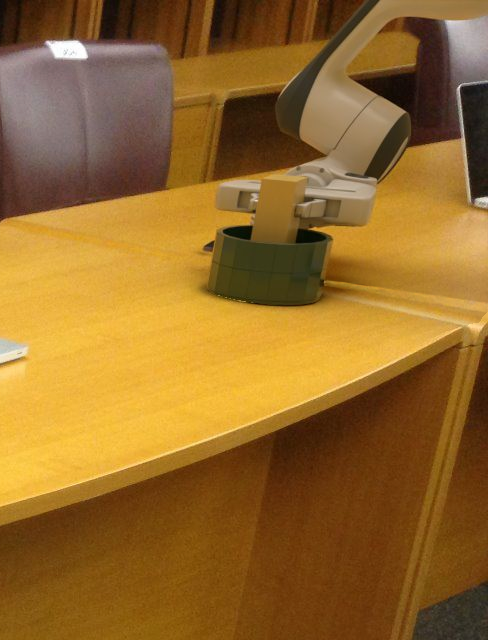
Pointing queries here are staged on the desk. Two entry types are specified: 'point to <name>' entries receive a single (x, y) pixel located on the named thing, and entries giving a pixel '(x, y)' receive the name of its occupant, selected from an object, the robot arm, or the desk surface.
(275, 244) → the pot
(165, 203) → the desk surface
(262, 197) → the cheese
